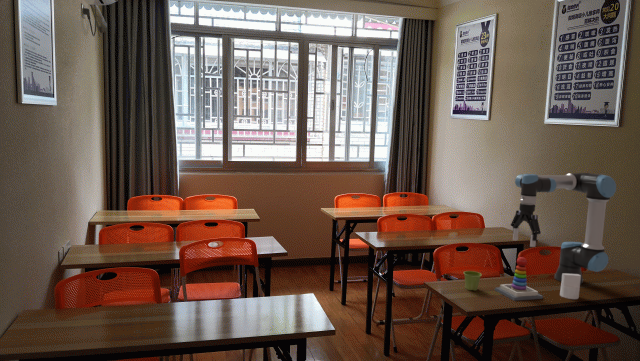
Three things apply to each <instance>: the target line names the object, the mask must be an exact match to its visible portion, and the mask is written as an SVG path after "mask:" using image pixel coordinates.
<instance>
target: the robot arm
mask: <svg viewBox="0 0 640 361" xmlns="http://www.w3.org/2000/svg"><path fill="white" fill-rule="evenodd" d="M514 183H515V186H516V187H518V188H520V189H521V190H520V201H519V202H520V203H519V209H517V210H516V211H515V215H514V216H513V219H512V220H511V223H510V226H511V227H512V228H513V229H512V241H519V232H520V228H519V227H520V225H522V223H523V222H525V223H527V224H528V227H529V228H530V231H531V234H530V241H529V242H530V244H529V247H530V248H533V247H534V248H535V247H536V246H537V245H536V244H537V239H538V235H541V228H540V224H539V223H540V222H539V220H538V218H539V217H538V216H539V215H537V214H534V212H536V205H535V204H536V203H537V193H552V192H554V191H555V190H556V189H563V190H564V189H565V190H566V191H574V192H578V193H581V194H582V193H583V194H586V195H585V197H586V198H585V199H587V201H588V204H587V205H588V206H587V217H586V227H585V234H584V235H585V236H584V242H580V241H564V242H562V243H561V247H560V254H559V263H558V264H559V265H558V267H557V269H556V272H555V273H554V279H555V280H556V281H559V282H561V281H562V273H567V274H579V275H581V279H580V285H582V284H583V283H584V278H583V272H582V268H583V269H586V270H588V271H591V272H596V273H599V272H602V271H603V270H604V269H605V268H606V267H607V266H608V263H609V256H608V254H607V253H606V252H605V246H604V245H603V239H604V238H603V235H604V227H605V218H606V210H607V209H606V207H607V203H608V202H609V201H610V200H611V198H612V197H613V196H615V193H616V191H617V184H616V182H615V179H614V178H613V177H611V176H609V175H606V174H599V173H590V172H575V173H566V174H563V175H562V174H561V175H560V174H545V175H544V174H536V173H523V174H522V173H521V174H518V175H517V176H516V177H515V181H514Z"/></svg>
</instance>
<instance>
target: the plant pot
mask: <svg viewBox="0 0 640 361" xmlns="http://www.w3.org/2000/svg"><path fill="white" fill-rule="evenodd" d="M463 274H464V275H463V276H464V284H465V289H466V290H468V291H474V292H475V291H478V287H479V284H480V279H481V277H482V276H483V275H482V273H481V272H478V271H475V270H466V271H463Z"/></svg>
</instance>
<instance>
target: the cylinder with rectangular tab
mask: <svg viewBox="0 0 640 361" xmlns="http://www.w3.org/2000/svg"><path fill="white" fill-rule="evenodd" d="M580 279H581V275H579V274H567V273H562V281H560V282H561V283H560V289H559V290H560V291H559V296H560V297H562V298H565V299H568V300H578V299H579V297H580V296H579V295H580V288H581V287H580V286H581V284H580Z"/></svg>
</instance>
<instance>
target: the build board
mask: <svg viewBox="0 0 640 361" xmlns="http://www.w3.org/2000/svg"><path fill="white" fill-rule="evenodd" d="M512 284H513V283H503V284H499V286H498V287H494V291H495V292H497V293H499V294H501V295H502V296H505V297H507V298H508V299H510V300H512V301H514V302H515V301H528V300H529V301H530V300H531V301H532V300H541V299H544V295H542V294H540V293H539V291H538V290H535V289H533V288H532V287H529V286H527V285H526V287H527V288H526V290H527V291H526V292H516V291H514V290H512V289H511V287H512Z"/></svg>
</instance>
